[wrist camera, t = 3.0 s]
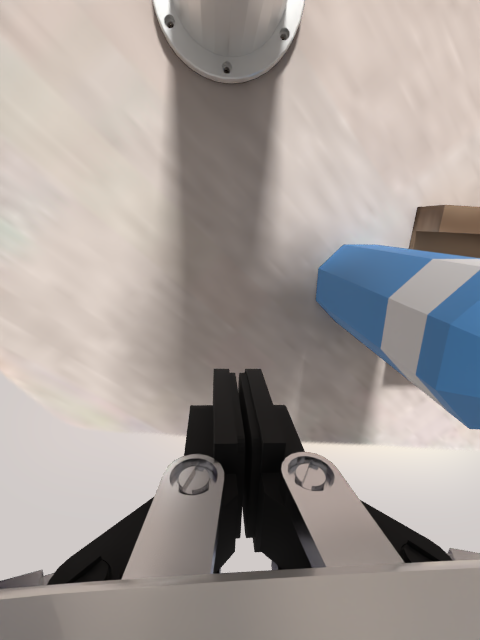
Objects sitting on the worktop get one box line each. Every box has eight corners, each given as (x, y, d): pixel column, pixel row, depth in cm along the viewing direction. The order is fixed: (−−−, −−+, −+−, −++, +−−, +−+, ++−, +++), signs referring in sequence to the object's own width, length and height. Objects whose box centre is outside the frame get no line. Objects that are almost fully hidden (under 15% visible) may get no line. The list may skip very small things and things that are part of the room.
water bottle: (402, 305, 35) (788, 471, 12) (327, 336, 36) (552, 557, 12) (384, 227, 33) (845, 237, 9) (302, 261, 33) (535, 359, 9)
